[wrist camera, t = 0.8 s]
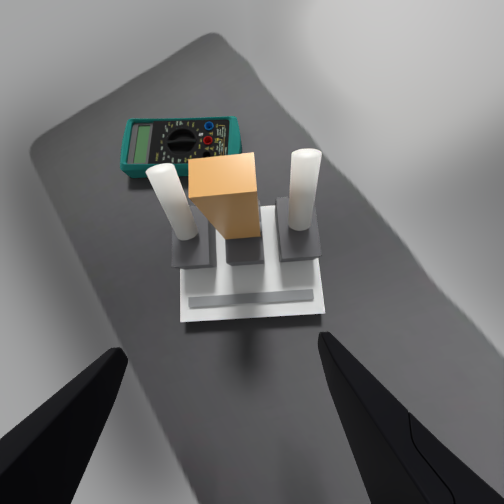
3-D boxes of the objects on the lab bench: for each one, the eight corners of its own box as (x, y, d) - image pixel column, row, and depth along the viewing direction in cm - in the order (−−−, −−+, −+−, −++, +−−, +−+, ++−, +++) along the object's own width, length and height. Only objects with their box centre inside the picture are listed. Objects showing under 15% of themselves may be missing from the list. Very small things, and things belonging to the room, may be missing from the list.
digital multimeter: (241, 180, 25) (238, 166, 22) (130, 180, 26) (113, 167, 23) (243, 130, 26) (240, 110, 23) (137, 132, 27) (122, 113, 24)
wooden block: (262, 238, 18) (261, 190, 9) (224, 241, 18) (184, 197, 9) (261, 218, 18) (258, 152, 9) (223, 221, 18) (184, 159, 9)
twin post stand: (321, 311, 21) (376, 337, 10) (186, 319, 22) (113, 351, 11) (307, 201, 23) (341, 133, 13) (185, 212, 24) (124, 156, 13)
